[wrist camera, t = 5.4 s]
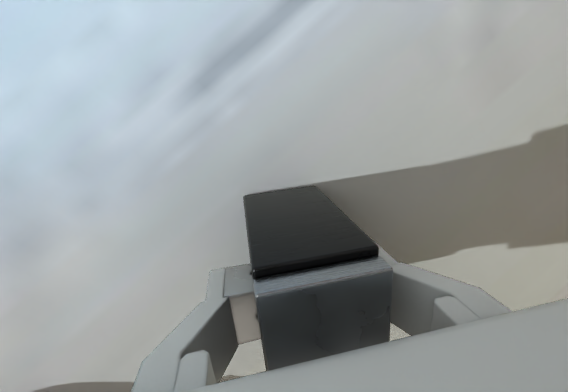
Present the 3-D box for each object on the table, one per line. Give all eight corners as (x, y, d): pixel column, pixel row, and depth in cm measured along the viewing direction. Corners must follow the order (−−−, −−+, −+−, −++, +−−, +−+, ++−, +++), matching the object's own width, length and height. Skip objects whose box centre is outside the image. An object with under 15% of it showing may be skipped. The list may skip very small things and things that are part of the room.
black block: (243, 195, 10) (253, 287, 5) (314, 184, 11) (395, 259, 6) (258, 296, 12) (278, 447, 7) (320, 284, 13) (386, 417, 7)
